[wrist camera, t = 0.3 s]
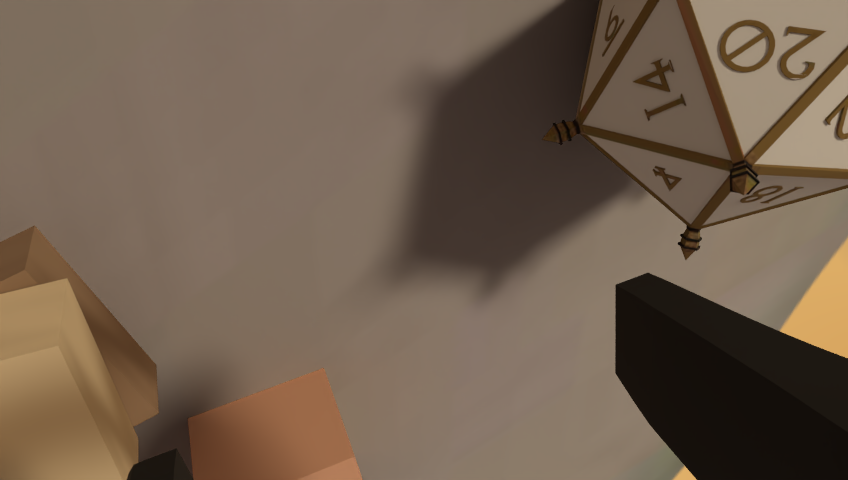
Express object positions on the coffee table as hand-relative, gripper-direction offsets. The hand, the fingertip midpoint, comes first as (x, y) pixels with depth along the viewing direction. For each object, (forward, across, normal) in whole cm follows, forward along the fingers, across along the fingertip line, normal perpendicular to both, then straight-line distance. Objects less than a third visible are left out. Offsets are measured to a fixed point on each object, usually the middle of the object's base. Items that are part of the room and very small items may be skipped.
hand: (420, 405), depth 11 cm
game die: (+10, -10, -1) cm, 14 cm away
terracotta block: (+10, +3, +10) cm, 14 cm away
